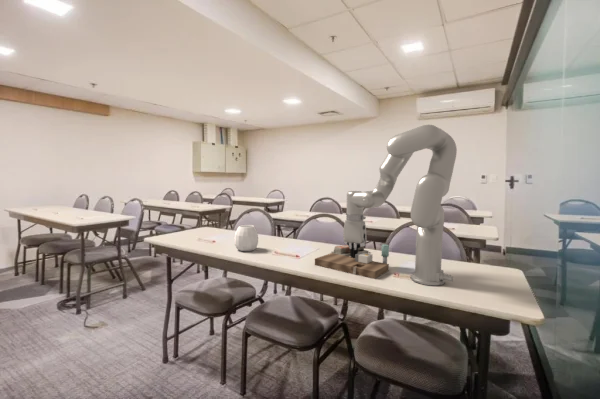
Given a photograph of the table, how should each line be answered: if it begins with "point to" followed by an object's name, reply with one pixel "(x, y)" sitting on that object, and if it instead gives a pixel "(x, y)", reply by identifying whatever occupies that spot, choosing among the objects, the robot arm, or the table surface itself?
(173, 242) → the table surface
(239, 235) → the white faceted vase
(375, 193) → the robot arm
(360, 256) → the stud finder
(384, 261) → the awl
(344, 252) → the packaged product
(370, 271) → the subfloor panel
